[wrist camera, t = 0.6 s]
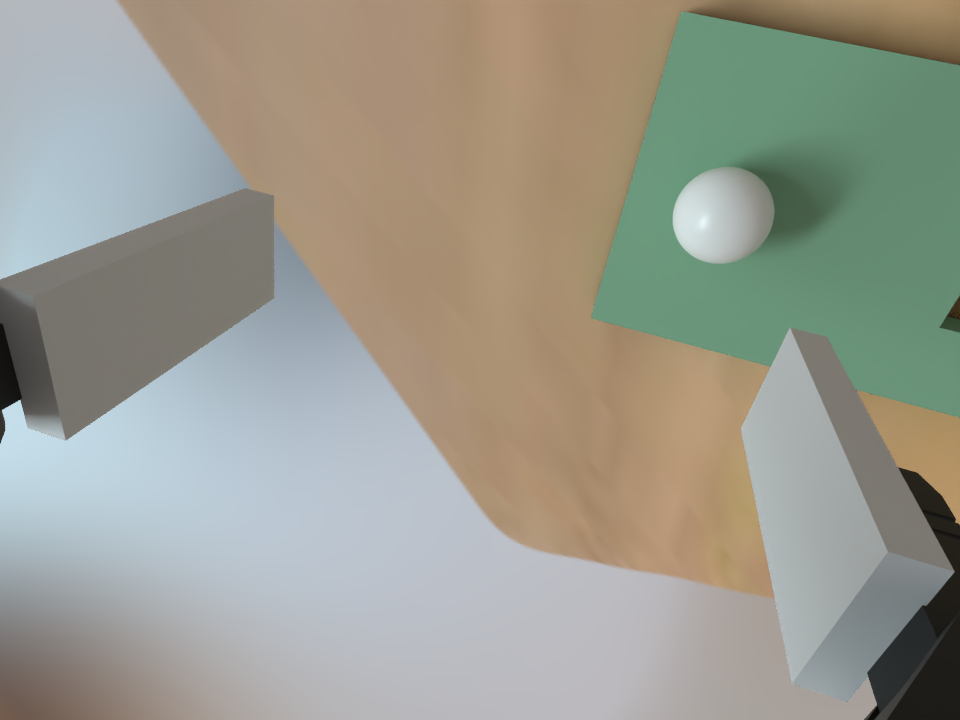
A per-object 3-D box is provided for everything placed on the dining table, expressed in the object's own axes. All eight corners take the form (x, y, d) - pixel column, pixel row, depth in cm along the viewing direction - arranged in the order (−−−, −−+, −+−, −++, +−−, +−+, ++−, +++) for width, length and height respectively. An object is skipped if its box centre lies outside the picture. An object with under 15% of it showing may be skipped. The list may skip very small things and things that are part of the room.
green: (680, 12, 26) (688, 4, 19) (1378, 149, 23) (1745, 208, 15) (590, 318, 34) (569, 401, 26) (1103, 456, 30) (1254, 600, 23)
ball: (689, 149, 27) (693, 166, 23) (782, 170, 26) (800, 191, 23) (660, 235, 29) (660, 263, 25) (745, 256, 28) (757, 287, 25)
